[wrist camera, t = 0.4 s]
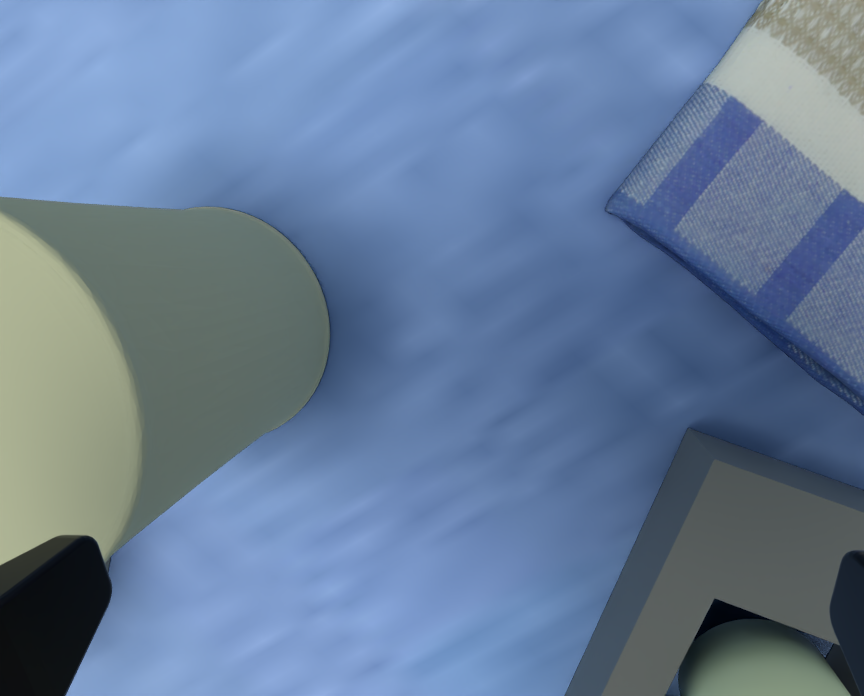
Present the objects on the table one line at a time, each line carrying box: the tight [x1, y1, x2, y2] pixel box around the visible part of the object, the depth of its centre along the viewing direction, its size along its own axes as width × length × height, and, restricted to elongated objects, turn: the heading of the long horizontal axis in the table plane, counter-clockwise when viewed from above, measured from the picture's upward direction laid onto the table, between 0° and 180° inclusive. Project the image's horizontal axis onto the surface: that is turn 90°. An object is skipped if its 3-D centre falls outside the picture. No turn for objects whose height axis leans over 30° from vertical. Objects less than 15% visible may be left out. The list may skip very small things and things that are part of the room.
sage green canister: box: [0, 197, 330, 565], centre depth 17 cm, size 9×9×12 cm
